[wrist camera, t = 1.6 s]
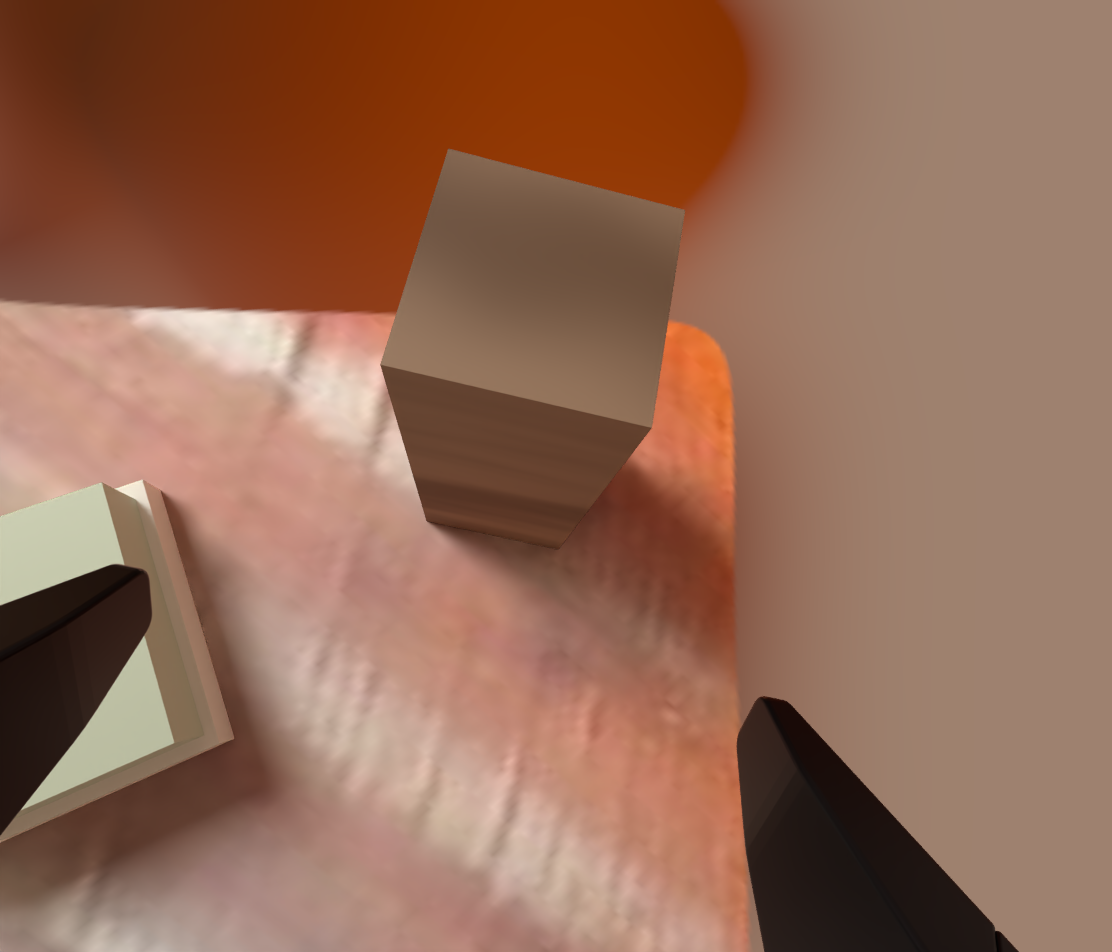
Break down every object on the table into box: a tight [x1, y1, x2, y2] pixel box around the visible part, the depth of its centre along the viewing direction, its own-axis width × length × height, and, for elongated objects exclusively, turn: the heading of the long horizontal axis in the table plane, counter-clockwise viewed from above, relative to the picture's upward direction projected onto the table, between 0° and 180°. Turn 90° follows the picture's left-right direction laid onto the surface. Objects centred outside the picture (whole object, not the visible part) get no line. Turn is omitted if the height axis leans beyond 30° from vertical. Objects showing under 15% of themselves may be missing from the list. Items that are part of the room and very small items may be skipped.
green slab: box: [0, 482, 204, 819], centre depth 18 cm, size 8×8×2 cm
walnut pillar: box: [380, 149, 685, 549], centre depth 18 cm, size 5×5×12 cm
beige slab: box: [0, 480, 235, 843], centre depth 20 cm, size 9×9×2 cm
